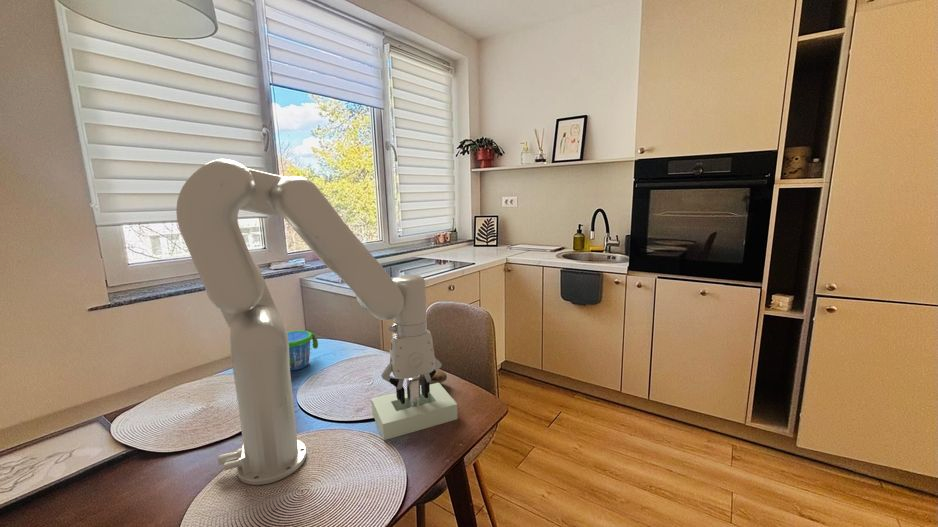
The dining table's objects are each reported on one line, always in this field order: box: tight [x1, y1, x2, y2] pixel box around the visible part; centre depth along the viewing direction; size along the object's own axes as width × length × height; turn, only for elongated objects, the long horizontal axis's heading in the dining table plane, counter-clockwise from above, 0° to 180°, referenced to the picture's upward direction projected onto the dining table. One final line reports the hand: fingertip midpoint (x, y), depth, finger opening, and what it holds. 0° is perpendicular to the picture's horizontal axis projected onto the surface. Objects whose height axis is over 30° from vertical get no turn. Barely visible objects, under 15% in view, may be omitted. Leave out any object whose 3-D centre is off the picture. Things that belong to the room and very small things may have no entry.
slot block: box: [371, 383, 458, 441], centre depth 94 cm, size 18×12×4 cm, turn 116°
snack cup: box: [286, 329, 319, 371], centre depth 121 cm, size 16×10×10 cm
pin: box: [406, 375, 421, 408], centre depth 93 cm, size 3×3×10 cm
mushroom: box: [419, 369, 448, 386], centre depth 107 cm, size 8×8×6 cm
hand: (413, 397), depth 93 cm, fingers open, 5 cm apart
